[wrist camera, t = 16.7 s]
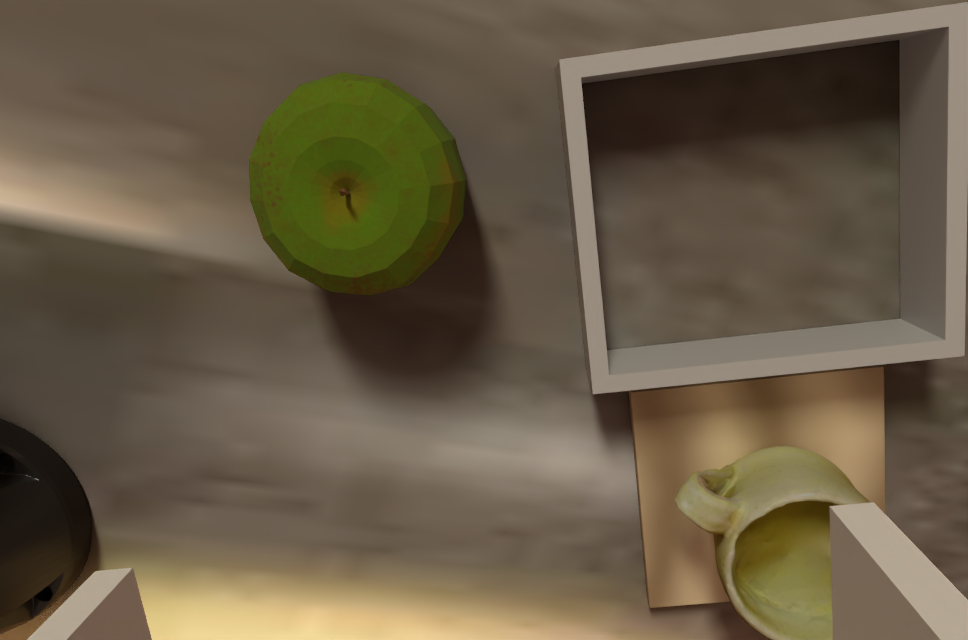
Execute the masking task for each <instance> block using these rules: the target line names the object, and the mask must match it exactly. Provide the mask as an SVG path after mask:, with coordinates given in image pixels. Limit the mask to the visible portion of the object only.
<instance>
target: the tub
mask: <svg viewBox="0 0 968 640" xmlns="http://www.w3.org/2000/svg"><path fill="white" fill-rule="evenodd" d="M895 40H899V81H900V319H893V320H883V321H874V322H865V323H855V324H846V325H837V326H828V327H818V328H809V329H800V330H791V331H781V332H772V333H763V334H754V335H744V336H735V337H726V338H716V339H707V340H698V341H689V342H679V343H670V344H661V345H652V346H642V347H633V348H624V349H614V350H607V347H606V336H605V326H604V315H603V304H602V294H601V283H600V273H599V262H598V252H597V241H596V231H595V220H594V210H593V199H592V188H591V178H590V167H589V157H588V146H587V136H586V125H585V115H584V104H583V93H582V84H583V83H590V82H597V81H605V80H612V79H619V78H627V77H634V76H641V75H648V74H656V73H663V72H670V71H677V70H685V69H692V68H699V67H706V66H714V65H721V64H728V63H735V62H743V61H750V60H757V59H764V58H772V57H779V56H786V55H793V54H801V53H808V52H815V51H823V50H830V49H837V48H844V47H852V46H859V45H866V44H873V43H881V42H888V41H895ZM556 78H557V88H558V98H559V108H560V118H561V127H562V137H563V147H564V157H565V167H566V176H567V186H568V196H569V206H570V216H571V225H572V235H573V245H574V255H575V265H576V275H577V284H578V294H579V304H580V314H581V324H582V333H583V343H584V353H585V363H586V370H587V374H588V377H589V381H590V385H591V389H592V393H593V394H601V393H610V392H620V391H630V390H639V389H649V388H659V387H668V386H678V385H688V384H697V383H707V382H717V381H727V380H736V379H746V378H756V377H765V376H775V375H785V374H794V373H804V372H814V371H823V370H833V369H843V368H853V367H862V366H872V365H882V364H891V363H901V362H911V361H920V360H930V359H940V358H949V357H959V356H964V354H965V298H966V241H967V185H968V2H965V3H958V4H951V5H944V6H937V7H930V8H923V9H916V10H909V11H901V12H894V13H887V14H880V15H873V16H866V17H859V18H852V19H845V20H838V21H830V22H823V23H816V24H809V25H802V26H795V27H788V28H781V29H774V30H766V31H759V32H752V33H745V34H738V35H731V36H724V37H717V38H710V39H703V40H695V41H688V42H681V43H674V44H667V45H660V46H653V47H646V48H639V49H632V50H624V51H617V52H610V53H603V54H596V55H589V56H582V57H575V58H568V59H560V60H559V62H558V64H557V67H556Z"/></svg>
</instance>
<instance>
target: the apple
mask: <svg viewBox="0 0 968 640" xmlns="http://www.w3.org/2000/svg"><path fill="white" fill-rule="evenodd" d="M249 174H250V200H251V204H252V207H253V210H254V213H255V215H256V218H257V221H258V224H259V227H260V230H261V233H262V236H263V239H264V240H265V241H266V243H267V244H268V245H269V246H270V248H271V249H272V250H273V252H274V253H275V254H276V255H277V257H278V258H279V259H280V260H281V262H282V263H283V264H284V265H285V267H286V268H287V269H288V270H289V271H290V272H292V273H294V274H296V275H298V276H300V277H302V278H304V279H306V280H308V281H310V282H311V283H313V284H315V285H317V286H319V287H321V288H323V289H325V290H327V291H330V292H338V293H348V294H359V295H369V296H371V295H375V294H379V293H383V292H387V291H390V290H394V289H398V288H402V287H406V286H409V285H411V284H412V283H413V282H414V281H415V280H416V279H417V278H418V277H419V276H420V275H421V274H422V273H424V272H425V271H426V270H427V269H428V268H429V267H430V266H431V265H432V264H433V263H434V262H435V261H436V260H437V259H438V258H439V257H440V255H441V254H442V252H443V250H444V248H445V247H446V245H447V243H448V242H449V240H450V238H451V237H452V235H453V233H454V232H455V230H456V228H457V227H458V225H459V223H460V222H461V220H462V218H463V213H464V200H465V188H466V176H465V173H464V170H463V167H462V163H461V159H460V156H459V152H458V148H457V145H456V141H455V138H454V137H453V136H452V134H451V133H450V132H449V131H448V129H447V128H446V127H445V126H444V124H443V123H442V122H441V120H440V119H439V118H438V117H437V115H436V114H435V113H434V112H433V110H432V109H431V108H430V107H429V106H427V105H426V104H424V103H423V102H421V101H419V100H418V99H416V98H415V97H413V96H412V95H410V94H408V93H407V92H405V91H404V90H402V89H401V88H399V87H397V86H396V85H394V84H393V83H391V82H389V81H388V80H386V79H380V78H374V77H367V76H361V75H355V74H348V73H338V74H335V75H332V76H328V77H325V78H322V79H319V80H315V81H312V82H309V83H305V84H302V85H299V86H298V87H297V88H296V89H295V90H294V91H293V92H292V93H291V94H290V96H289V97H288V98H287V99H286V100H285V101H284V102H283V103H282V104H281V105H280V106H279V107H278V108H277V109H276V110H275V111H274V112H273V113H272V114H271V116H270V117H269V118H268V119H267V120H266V121H265V122H264V124H263V126H262V129H261V131H260V134H259V136H258V139H257V142H256V144H255V147H254V149H253V152H252V154H251V157H250V159H249Z"/></svg>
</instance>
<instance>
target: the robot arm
mask: <svg viewBox="0 0 968 640" xmlns="http://www.w3.org/2000/svg"><path fill="white" fill-rule="evenodd" d="M829 509H830V547H831V586H832V624H833V640H968V600H967V599H966V598H965V597H964V596H963V595H962V594H961V593H960V592H959V591H958V589H957V588H956V587H955V586H954V585H953V584H952V583H951V582H950V581H949V580H948V579H947V578H946V577H945V576H944V575H943V574H942V573H941V572H940V571H939V570H938V569H937V568H936V567H935V566H934V565H933V563H932V562H931V561H930V560H929V559H928V558H927V557H926V556H925V555H924V554H923V553H922V552H921V551H920V550H919V549H918V548H917V547H916V546H915V545H914V544H913V543H912V542H911V541H910V540H909V539H908V538H907V536H906V535H905V534H904V533H903V532H902V531H901V530H900V529H899V528H898V527H897V526H896V525H895V524H894V523H893V522H892V521H891V520H890V519H889V518H888V517H887V516H886V515H885V514H884V513H883V512H882V510H881V509H880V508H879V507H878V506H877V505H876V504H875V503H874V502H871V503H860V504H848V505H837V506H829ZM90 544H91V520H90V514H89V509H88V505H87V502H86V499H85V496H84V494H83V491H82V489H81V487H80V485H79V483H78V481H77V480H76V478H75V476H74V475H73V473H72V472H71V470H70V469H69V467H68V466H67V465H66V463H65V462H64V461H63V460H62V459H61V458H60V456H59V455H58V454H57V453H56V452H55V451H54V450H53V449H51V448H50V447H49V446H48V445H47V444H46V443H44V442H43V441H42V440H41V439H39V438H38V437H36V436H35V435H33V434H32V433H30V432H28V431H27V430H25V429H23V428H21V427H19V426H17V425H15V424H13V423H10V422H8V421H5V420H2V419H0V634H2V633H4V632H6V631H8V630H11V629H13V628H15V627H17V626H19V625H22V624H24V623H26V622H28V621H30V620H32V619H34V618H35V617H37V616H38V615H40V614H41V613H42V612H44V611H45V610H46V609H48V608H49V607H50V606H51V605H52V604H53V603H54V602H55V601H56V600H57V599H58V598H59V597H60V596H61V595H62V594H63V593H64V592H65V591H67V590H68V589H69V588H70V587H71V585H72V584H73V583H74V582H75V581H76V579H77V578H78V576H79V575H80V573H81V571H82V570H83V567H84V565H85V563H86V560H87V558H88V554H89V550H90ZM27 640H152V639H151V635H150V631H149V628H148V624H147V620H146V616H145V612H144V608H143V605H142V601H141V597H140V593H139V589H138V586H137V582H136V578H135V574H134V570H133V568H125V569H114V570H102V571H95V572H94V573H93V574H92V575H91V576H90V577H89V578H88V579H87V580H86V581H85V582H84V583H83V584H82V585H81V586H80V587H79V588H78V589H77V590H76V591H75V592H74V593H73V594H72V595H71V596H70V597H69V598H68V599H67V600H66V601H65V602H64V603H63V604H62V605H61V606H60V607H59V608H58V609H57V610H56V611H55V612H54V613H53V614H52V615H51V616H50V617H49V618H48V619H47V620H46V621H45V622H44V623H43V624H42V625H41V626H40V627H39V628H38V629H37V630H36V631H35V632H34V633H33V634H32V635H31V636H30V637H29V638H28V639H27Z"/></svg>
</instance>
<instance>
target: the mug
mask: <svg viewBox="0 0 968 640" xmlns="http://www.w3.org/2000/svg"><path fill="white" fill-rule="evenodd" d="M860 503H871V502H870V501H869V500H868V499H867V498H865V497H864V496H863V495H862V494H861V493H860V492H859V491H858V490H857V489H856V488H855V487H854V486H853V484H852V483H851V481H850V480H849V478H848V477H847V476H846V475H845V474H844V473H843V472H842V471H841V470H840V469H839V468H838V467H837V466H836V465H835V464H833V463H832V462H831V461H829V460H828V459H826V458H824V457H823V456H821V455H819V454H817V453H814V452H812V451H809V450H805V449H802V448H798V447H791V446H774V447H769V448H765V449H761V450H758V451H755V452H752V453H750V454H748V455H746V456H744V457H742V458H740V459H738V460H737V461H735V462H733V463H732V464H730V465H726V466H724V467H723V468H722V469H721V470H718V469H708V470H705V471H698V472H695V473H693V474H692V475H690V477H689V478H688V479H687V481H686V482H685V483H684V484H683V485H682V486H681V487H680V489H679V490H678V492H677V494H676V497H675V504H676V506H677V508H678V509H679V510H680V511H681V512H682V513H683V514H684V515H685V516H686V517H687V518H689V519H690V520H691V521H692V522H693V523H694V524H696V525H697V526H698V527H700V528H701V529H703V530H705V531H707V532H708V533H710V534H713V537H714V545H715V558H716V565H717V571H718V574H719V577H720V580H721V583H722V585H723V588H724V590H725V592H726V594H727V596H728V598H729V600H730V602H731V604H732V606H733V607H734V609H735V611H736V612H737V613H738V614H739V615H740V616H741V617H742V618H743V619H744V620H745V621H746V622H747V623H748V624H749V625H750V626H751V627H752V628H753V629H755V630H756V631H757V632H759V633H761V634H762V635H764V636H765V637H767V638H768V639H770V640H833V624H832V586H831V547H830V509H829V506H837V505H848V504H860Z"/></svg>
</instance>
